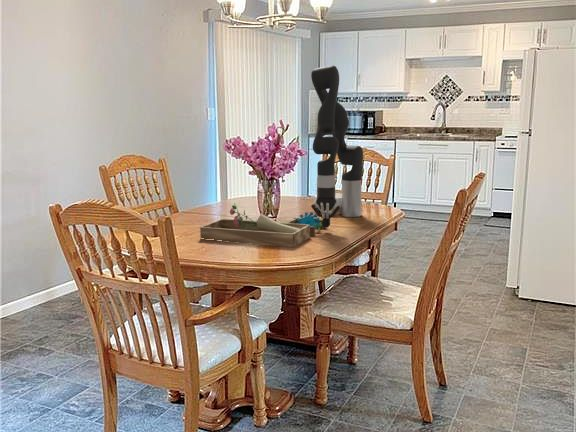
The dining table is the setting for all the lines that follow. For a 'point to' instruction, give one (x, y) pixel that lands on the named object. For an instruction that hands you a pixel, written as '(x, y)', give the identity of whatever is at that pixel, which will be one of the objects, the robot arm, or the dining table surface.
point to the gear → (310, 220)
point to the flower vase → (262, 223)
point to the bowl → (338, 200)
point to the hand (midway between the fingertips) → (326, 227)
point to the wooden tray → (254, 233)
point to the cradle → (312, 228)
